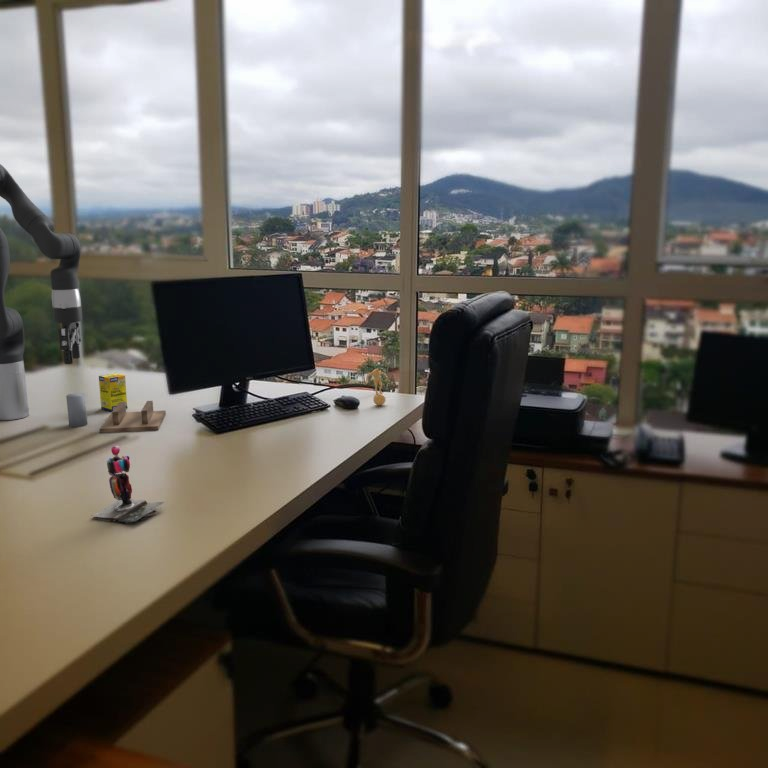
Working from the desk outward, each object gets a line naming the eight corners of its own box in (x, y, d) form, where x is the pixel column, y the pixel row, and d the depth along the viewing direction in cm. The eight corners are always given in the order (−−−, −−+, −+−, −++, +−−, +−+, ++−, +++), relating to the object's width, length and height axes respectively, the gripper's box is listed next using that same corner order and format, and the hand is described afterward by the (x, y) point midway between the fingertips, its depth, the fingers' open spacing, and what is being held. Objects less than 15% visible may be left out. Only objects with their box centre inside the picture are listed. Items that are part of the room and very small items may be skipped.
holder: (99, 432, 208) (98, 415, 207) (111, 416, 226) (110, 400, 224) (158, 430, 211) (157, 412, 210) (165, 414, 228) (164, 397, 227)
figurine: (369, 407, 236) (369, 371, 233) (363, 403, 241) (362, 367, 239) (393, 405, 239) (393, 369, 236) (386, 401, 244) (386, 366, 242)
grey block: (67, 427, 214) (64, 397, 212) (71, 422, 219) (68, 393, 217) (85, 426, 215) (82, 396, 213) (89, 422, 219) (86, 392, 217)
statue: (92, 524, 148) (77, 453, 146) (124, 507, 157) (110, 440, 154) (136, 526, 144) (121, 453, 142) (165, 508, 153) (152, 439, 150)
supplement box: (111, 412, 231) (108, 378, 229) (100, 409, 235) (97, 375, 232) (128, 408, 236) (125, 374, 233) (117, 405, 239) (114, 372, 237)
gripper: (59, 302, 215) (64, 357, 219) (46, 308, 202) (52, 366, 205) (86, 302, 216) (91, 356, 220) (74, 307, 203) (80, 365, 206)
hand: (72, 361), depth 213 cm, fingers open, 8 cm apart
